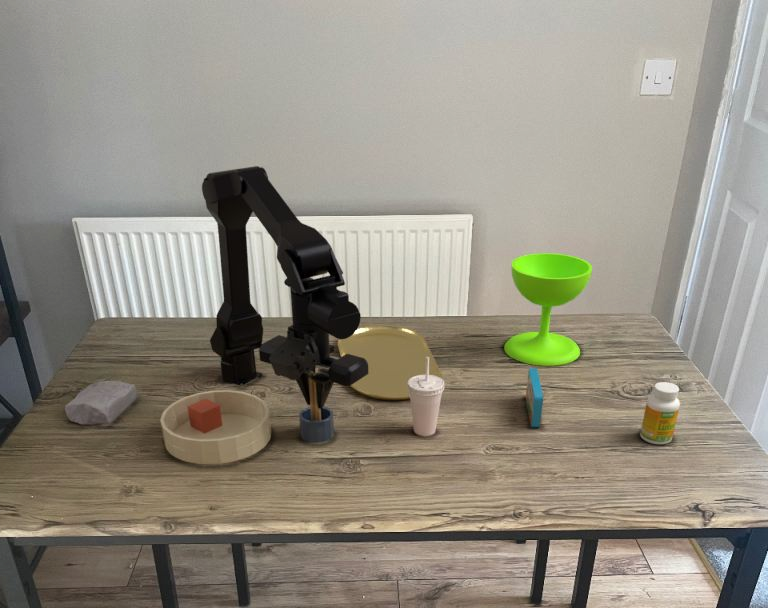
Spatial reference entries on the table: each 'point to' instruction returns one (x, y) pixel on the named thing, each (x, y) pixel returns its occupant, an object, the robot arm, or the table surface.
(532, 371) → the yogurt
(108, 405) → the stone block
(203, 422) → the block
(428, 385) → the smoothie
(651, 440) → the supplement bottle
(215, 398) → the bowl
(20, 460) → the table surface
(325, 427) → the holder
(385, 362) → the serving platter
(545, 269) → the wineglass
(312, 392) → the chopsticks
